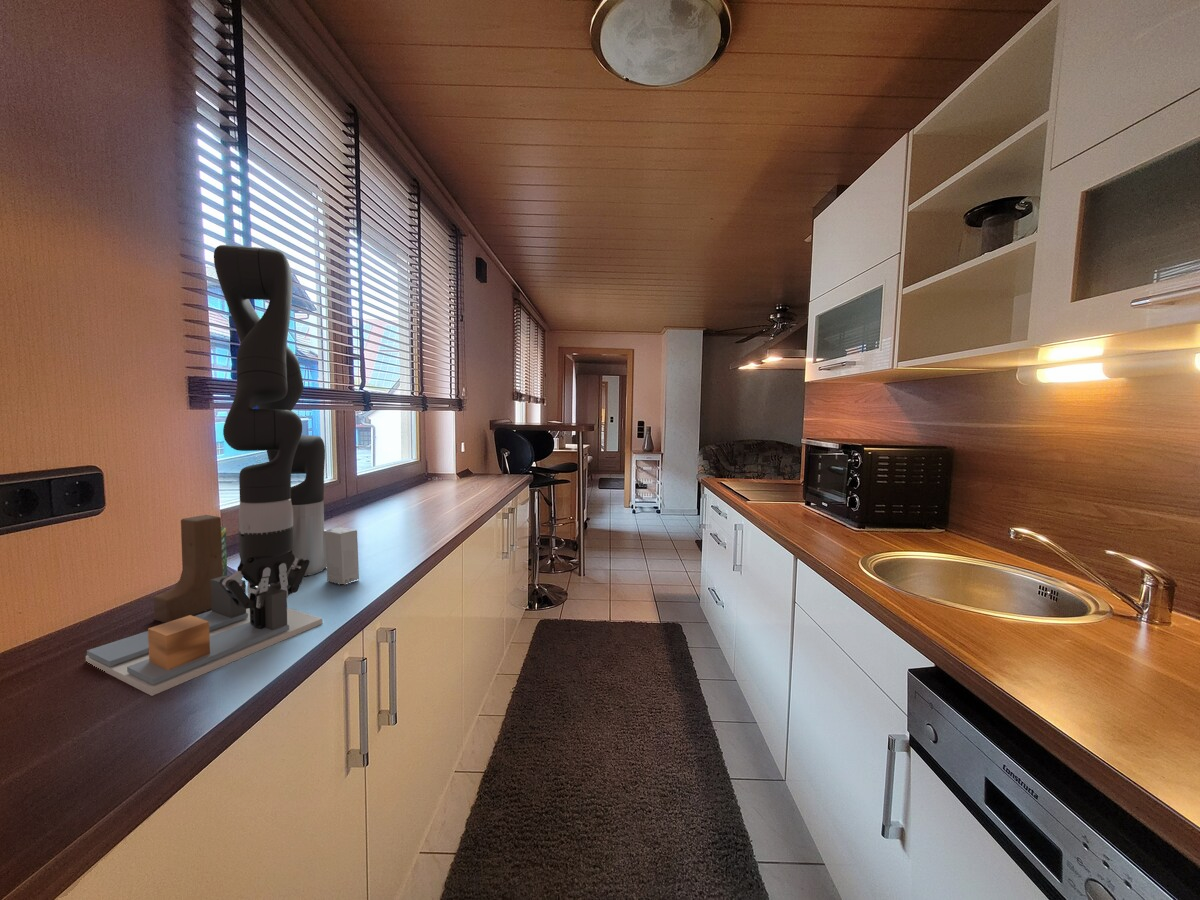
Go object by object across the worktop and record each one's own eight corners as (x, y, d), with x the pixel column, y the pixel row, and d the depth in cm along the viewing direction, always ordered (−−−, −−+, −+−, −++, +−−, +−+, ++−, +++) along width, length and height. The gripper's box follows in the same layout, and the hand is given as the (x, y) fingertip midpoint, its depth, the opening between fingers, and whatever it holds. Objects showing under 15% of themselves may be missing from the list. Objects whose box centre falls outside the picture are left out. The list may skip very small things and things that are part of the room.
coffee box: (218, 596, 93) (216, 534, 92) (200, 599, 92) (198, 536, 91) (228, 583, 100) (227, 526, 99) (212, 585, 99) (210, 527, 98)
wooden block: (167, 624, 80) (164, 526, 79) (152, 620, 82) (149, 523, 81) (224, 605, 89) (221, 516, 88) (209, 601, 90) (207, 514, 89)
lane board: (258, 604, 90) (258, 599, 90) (322, 623, 83) (322, 618, 82) (86, 662, 68) (85, 656, 68) (151, 696, 60) (151, 688, 60)
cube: (191, 646, 70) (190, 615, 69) (210, 653, 68) (209, 621, 67) (149, 661, 65) (147, 628, 65) (167, 670, 63) (166, 635, 63)
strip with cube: (264, 621, 80) (263, 584, 80) (289, 629, 78) (288, 591, 77) (127, 672, 64) (125, 626, 63) (153, 684, 61) (151, 636, 61)
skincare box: (360, 580, 104) (359, 529, 103) (341, 586, 100) (341, 533, 99) (343, 575, 107) (342, 526, 106) (324, 581, 103) (323, 529, 102)
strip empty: (225, 610, 84) (224, 574, 84) (247, 617, 81) (247, 581, 81) (87, 655, 68) (84, 611, 67) (109, 666, 65) (107, 621, 64)
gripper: (294, 515, 84) (295, 604, 86) (205, 531, 72) (208, 636, 73) (320, 520, 81) (322, 612, 83) (233, 538, 69) (236, 646, 70)
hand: (268, 623), depth 78 cm, fingers closed on strip with cube, 2 cm apart
